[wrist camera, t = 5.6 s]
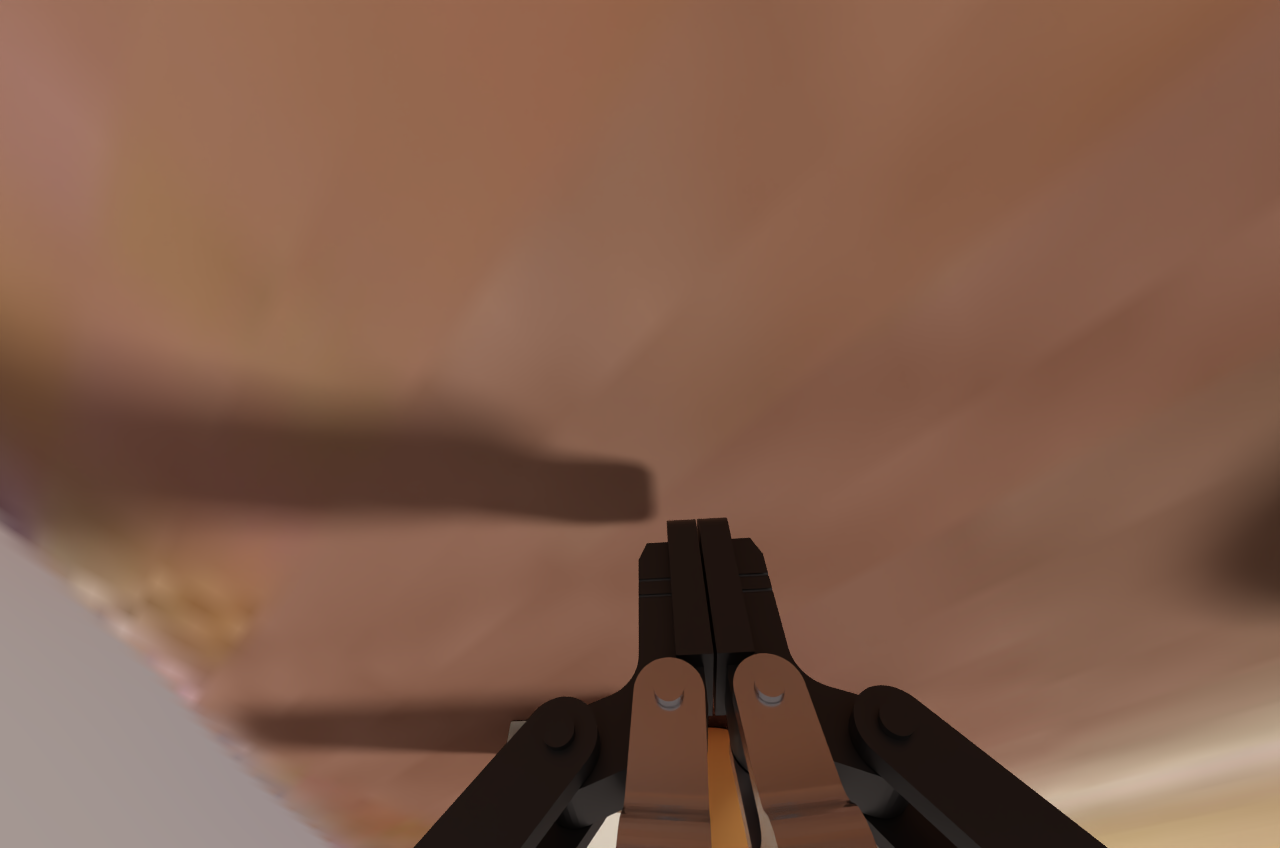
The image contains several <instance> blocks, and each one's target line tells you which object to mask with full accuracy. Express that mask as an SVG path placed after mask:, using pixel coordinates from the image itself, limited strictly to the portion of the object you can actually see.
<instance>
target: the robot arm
mask: <svg viewBox="0 0 1280 848" xmlns="http://www.w3.org/2000/svg"><path fill="white" fill-rule="evenodd" d="M667 535H668V542H663V543H647V544H646V546H645V548H644V550H643V552H642V554H641V557H640V559H639V660H638V665H637V668H636V671H635V673H634V675H633V677H632V678H631V680H630V681H629V682H628V683H627V685H625V686H624V687H623V688H622V689H621V690H619V691H618V692H616V693H615V694H613V695H611V696H608V697H606V698H603V699H601V700H598V701H596V702H593V703H591V704H588V705H587V704H586V703H584V702H583V701H581V700H579V699H576V698H572V697H559V698H555V699H552V700H550V701H548V702H546V703H544V704H543V705H542V706H540V707H539V708H538V709H537V710H536V711H535V712H534V713H533V714H532V715H531V716H530V718H529V719H528V720H527V721H526V722H525V723H524V724H523V725H522V726H521V728H520V729H519V730H518V731H517V732H516V733H515V734H514V735H513V737H512V738H511V739H510V740H509V741H508V742H507V743H506V744H505V746H504V747H503V748H502V749H501V750H500V751H499V752H498V753H497V755H496V756H495V757H494V758H493V759H492V760H491V761H490V762H489V764H488V765H487V766H486V767H485V768H484V769H483V770H482V771H481V773H480V774H479V775H478V776H477V777H476V778H475V779H474V780H473V782H472V783H471V784H470V785H469V786H468V787H467V788H466V789H465V791H464V792H463V793H462V794H461V795H460V796H459V797H458V798H457V799H456V801H455V802H454V803H453V804H452V805H451V806H450V807H449V808H448V810H447V811H446V812H445V813H444V814H443V815H442V816H441V817H440V819H439V820H438V821H437V822H436V823H435V824H434V825H433V826H432V828H431V829H430V830H429V831H428V832H427V833H426V834H425V835H424V837H423V838H422V839H421V840H420V841H419V842H418V843H417V844H416V846H415V847H414V848H587V847H588V845H589V844H590V842H591V841H592V839H593V838H594V836H595V835H596V833H597V832H598V830H599V829H600V827H601V826H602V824H603V823H604V821H605V819H606V818H607V817H608V816H610V815H612V814H615V813H617V812H619V811H621V810H622V811H621V814H620V818H619V824H618V832H617V842H616V848H712V846H711V824H710V812H709V789H708V762H707V752H708V716H712V711H713V700H714V708H715V715H726V717H727V724H728V731H729V738H730V742H729V755H730V761H731V766H732V770H733V775H734V780H735V785H736V790H737V795H738V799H739V804H740V809H741V814H742V819H743V824H744V828H745V833H746V838H747V843H748V848H877V846H878V847H879V848H1107V847H1106V846H1105V845H1103V844H1102V843H1101V842H1099V841H1098V840H1097V839H1096V838H1094V837H1093V836H1092V835H1090V834H1089V833H1088V832H1087V831H1085V830H1084V829H1083V828H1081V827H1080V826H1079V825H1078V824H1076V823H1075V822H1074V821H1072V820H1071V819H1070V818H1069V817H1067V816H1066V815H1065V814H1063V813H1062V812H1061V811H1060V810H1058V809H1057V808H1056V807H1054V806H1053V805H1052V804H1051V803H1049V802H1048V801H1047V800H1045V799H1044V798H1043V797H1042V796H1040V795H1039V794H1038V793H1036V792H1035V791H1034V790H1033V789H1031V788H1030V787H1029V786H1027V785H1026V784H1025V783H1024V782H1022V781H1021V780H1020V779H1018V778H1017V777H1016V776H1015V775H1013V774H1012V773H1011V772H1009V771H1008V770H1007V769H1005V768H1004V767H1003V766H1002V765H1000V764H999V763H998V762H996V761H995V760H994V759H993V758H991V757H990V756H989V755H987V754H986V753H985V752H984V751H982V750H981V749H980V748H978V747H977V746H976V745H975V744H973V743H972V742H971V741H969V740H968V739H967V738H966V737H964V736H963V735H962V734H960V733H959V732H958V731H957V730H955V729H954V728H953V727H951V726H950V725H949V724H948V723H946V722H945V721H944V720H942V719H941V718H940V717H939V716H937V715H936V714H935V713H933V712H932V711H931V710H930V709H928V708H927V707H926V706H924V705H923V704H922V703H921V702H919V701H918V700H917V699H915V698H914V697H913V696H911V695H910V694H908V693H906V692H904V691H902V690H900V689H897V688H895V687H891V686H884V685H879V686H872V687H869V688H867V689H865V690H864V691H862V692H861V693H860V694H859V695H857V694H854V693H850V692H846V691H843V690H839V689H836V688H832V687H829V686H826V685H823V684H821V683H819V682H817V681H815V680H813V679H812V678H810V677H809V676H808V675H806V674H805V673H804V672H803V671H802V670H801V669H800V668H799V667H798V666H797V664H796V663H795V662H794V660H793V658H792V656H791V654H790V652H789V649H788V645H787V642H786V638H785V634H784V631H783V627H782V623H781V619H780V616H779V612H778V608H777V605H776V601H775V597H774V594H773V592H772V586H771V582H770V579H769V576H768V571H767V568H766V564H765V560H764V557H763V553H762V552H761V551H760V550H759V549H758V547H757V546H756V545H755V544H754V542H753V541H752V540H751V539H750V538H738V539H731V534H730V529H729V525H728V521H727V518H709V519H697V527H696V521H695V519H693V520H674V521H667Z"/></svg>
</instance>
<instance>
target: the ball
mask: <svg viewBox="0 0 1280 848" xmlns="http://www.w3.org/2000/svg"><path fill="white" fill-rule="evenodd" d="M729 742H730V738H729V731H728V730H727V729H722V728H708V752H707V762H708V789H709V812H710V824H711V846H712V848H748V843H747V838H746V833H745V828H744V824H743V819H742V814H741V809H740V804H739V799H738V795H737V790H736V785H735V780H734V775H733V770H732V766H731V761H730V755H729Z"/></svg>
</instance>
